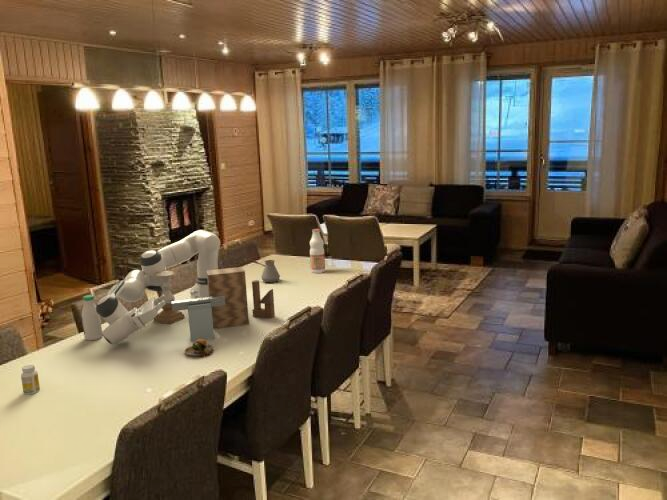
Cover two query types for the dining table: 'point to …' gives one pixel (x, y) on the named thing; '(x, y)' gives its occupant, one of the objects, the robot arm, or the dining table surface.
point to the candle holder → (167, 300)
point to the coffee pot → (268, 271)
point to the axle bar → (198, 302)
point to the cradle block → (200, 321)
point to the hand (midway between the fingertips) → (164, 299)
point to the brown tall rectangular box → (228, 297)
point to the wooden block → (262, 302)
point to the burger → (199, 349)
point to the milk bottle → (91, 319)
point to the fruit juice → (317, 253)
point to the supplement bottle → (30, 380)
